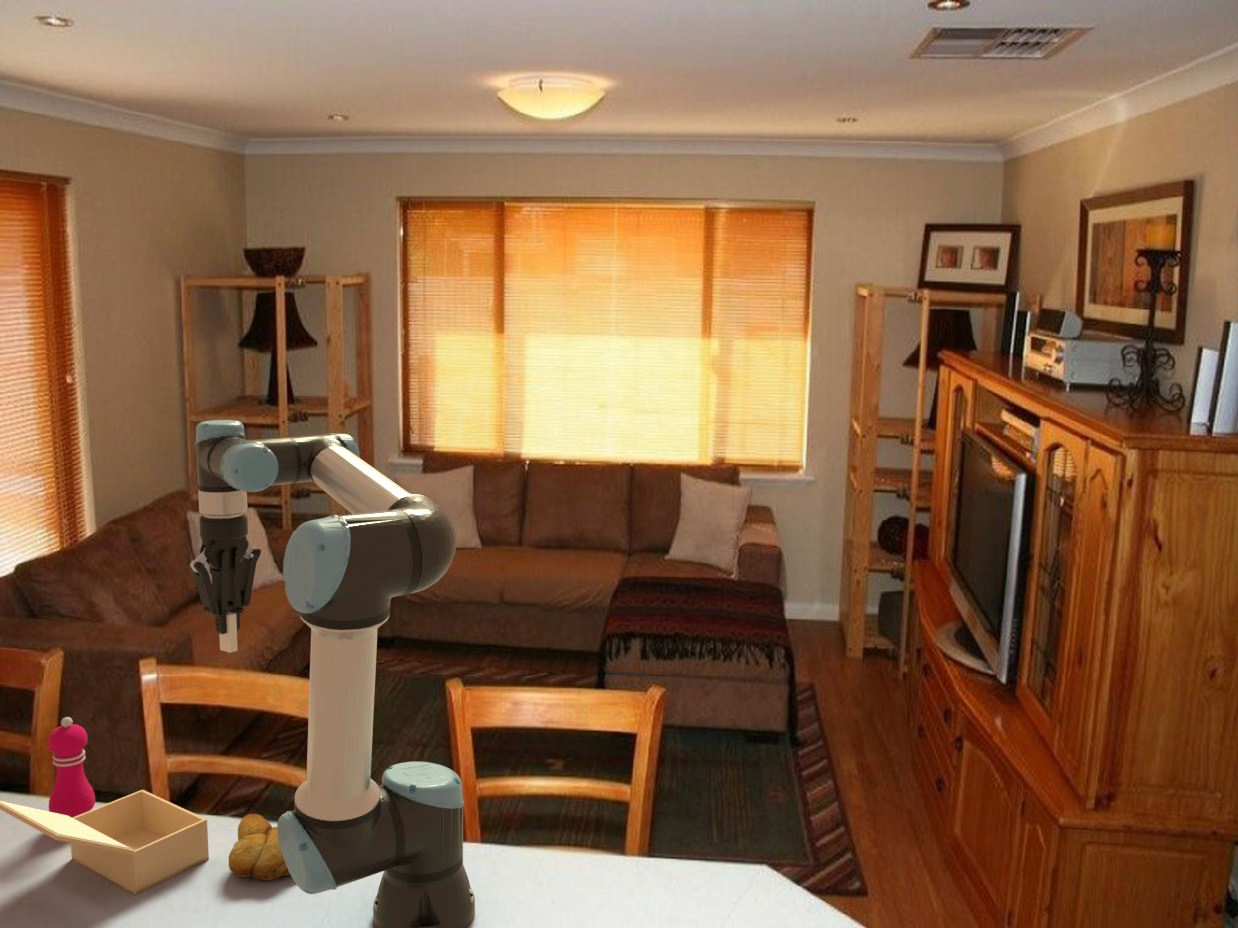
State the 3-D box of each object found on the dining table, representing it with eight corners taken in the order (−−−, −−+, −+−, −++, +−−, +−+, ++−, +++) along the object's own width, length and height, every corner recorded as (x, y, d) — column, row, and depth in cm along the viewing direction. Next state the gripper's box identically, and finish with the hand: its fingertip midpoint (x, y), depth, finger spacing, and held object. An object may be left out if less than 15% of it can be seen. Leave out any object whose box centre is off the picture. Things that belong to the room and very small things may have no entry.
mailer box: (208, 858, 178) (207, 819, 177) (135, 894, 168) (133, 852, 167) (144, 827, 188) (142, 789, 187) (71, 858, 178) (69, 818, 176)
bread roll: (320, 860, 179) (319, 815, 177) (291, 892, 169) (289, 844, 168) (249, 851, 181) (247, 806, 180) (216, 881, 172) (214, 834, 171)
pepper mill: (105, 818, 191) (99, 711, 188) (78, 838, 184) (71, 727, 181) (69, 814, 192) (61, 707, 189) (40, 834, 185) (32, 723, 182)
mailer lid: (57, 834, 156) (55, 839, 155) (134, 849, 166) (132, 854, 166) (-9, 798, 166) (-11, 803, 166) (68, 814, 177) (66, 819, 176)
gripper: (242, 504, 187) (247, 635, 191) (174, 517, 176) (181, 655, 180) (270, 510, 183) (274, 644, 187) (203, 523, 172) (209, 665, 176)
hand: (228, 649), depth 183 cm, fingers closed
